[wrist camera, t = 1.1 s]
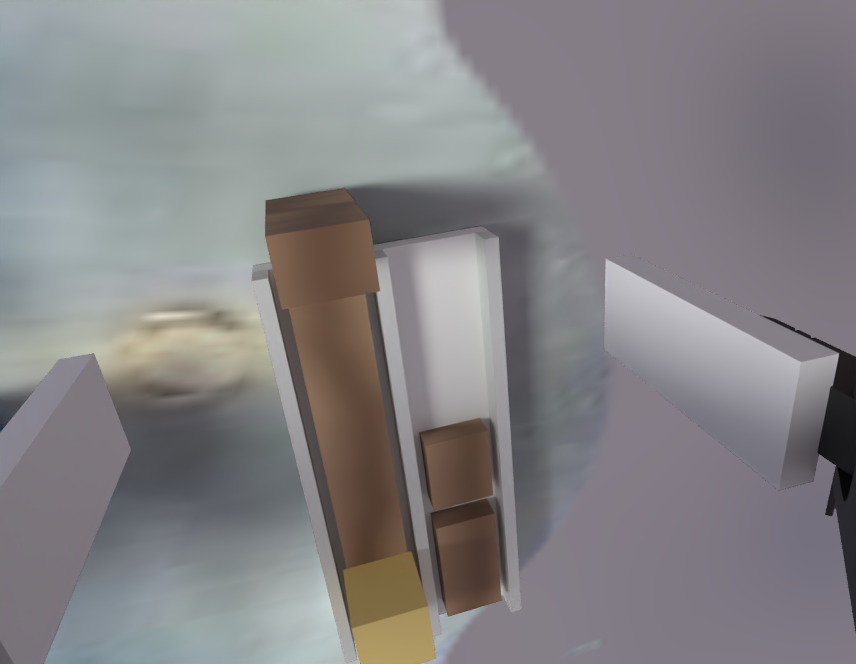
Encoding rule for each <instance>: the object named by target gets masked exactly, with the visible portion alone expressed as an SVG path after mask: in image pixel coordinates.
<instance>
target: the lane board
mask: <svg viewBox="0 0 856 664" xmlns="http://www.w3.org/2000/svg"><path fill="white" fill-rule="evenodd" d="M373 247H374V253H375V260H376V267H377V273H378V280H379V286H380V291H379V292H374V293H368V294H365V295H366V302H367V308H368V314H369V320H370V326H371V332H372V338H373V344H374V350H375V357H376V363H377V369H378V375H379V381H380V387H381V393H382V399H383V405H384V412H385V418H386V424H387V430H388V436H389V442H390V448H391V454H392V460H393V467H394V473H395V479H396V485H397V491H398V497H399V503H400V509H401V516H402V522H403V528H404V534H405V540H406V546H407V552H410V551H411V552H412V555H413V558H414V562H415V565H416V568H417V571H418V575H419V578H420V581H421V584H422V587H423V591H424V594H425V597H426V600H427V603H428V607H429V614H430V620H431V627H432V634H433V636H437V635H440V634H441V627H440V620H439V615H440V614H444V613H447V611H446V609H445V606H444V603H443V600H442V594H441V587H440V579H439V572H438V565H437V558H436V550H435V543H434V536H433V529H432V521H431V514H430V513H432V512H436V511H440V510H443V509H447V508H451V507H455V506H459V505H462V504H466V503H470V502H474V501H478V500H481V499H485V498H487V500H488V502H489V504H490V505H491V507H492V509H493V511H494V513H495V523H496V536H497V548H498V561H499V573H500V586H501V596H504V598H505V600H506V603H507V605H508V607H509V609H510V611H511V612H515V611H518V610H521V594H520V578H519V561H518V545H517V528H516V512H515V496H514V479H513V463H512V447H511V430H510V414H509V398H508V382H507V365H506V349H505V333H504V316H503V300H502V284H501V267H500V251H499V237H498V236H496V235H495V234H493V233H492V232H490V231H488V230H487V229H485V228H484V227H482V226H479V227H473V228H468V229H462V230H456V231H450V232H445V233H439V234H433V235H427V236H422V237H416V238H410V239H404V240H399V241H393V242H387V243H381V244H376V245H373ZM252 284H253V289H254V293H255V297H256V301H257V305H258V309H259V313H260V317H261V321H262V325H263V329H264V333H265V337H266V341H267V345H268V350H269V354H270V358H271V362H272V366H273V370H274V374H275V378H276V382H277V386H278V390H279V394H280V398H281V402H282V406H283V410H284V415H285V419H286V423H287V427H288V431H289V435H290V439H291V443H292V447H293V451H294V455H295V459H296V463H297V467H298V471H299V475H300V480H301V484H302V488H303V492H304V496H305V500H306V504H307V508H308V512H309V516H310V520H311V524H312V528H313V532H314V536H315V541H316V545H317V549H318V553H319V557H320V561H321V565H322V569H323V573H324V577H325V581H326V585H327V589H328V593H329V597H330V601H331V606H332V610H333V614H334V618H335V622H336V626H337V630H338V634H339V638H340V642H341V646H342V650H343V654H344V658H345V662H346V663H348V662H352V661H355V660H357V656H356V650H355V643H354V640H355V639H354V635H353V631H352V625H351V619H350V613H349V606H348V600H347V594H346V587H345V581H344V575H343V570H345V569H347V568H346V564H345V559H344V555H343V550H342V546H341V541H340V537H339V532H338V528H337V523H336V519H335V514H334V510H333V505H332V501H331V497H330V492H329V488H328V483H327V479H326V474H325V470H324V465H323V461H322V456H321V452H320V447H319V443H318V438H317V434H316V429H315V425H314V420H313V416H312V411H311V407H310V402H309V398H308V394H307V389H306V385H305V380H304V376H303V371H302V367H301V362H300V358H299V353H298V349H297V344H296V340H295V335H294V331H293V326H292V322H291V317H290V313H289V309H284V310H282V308H281V303H280V299H279V295H278V290H277V286H276V281H275V277H274V273H273V268H272V264H271V263H266V264H260V265H255V266H253V271H252ZM476 418H480V419H481V421H482V422H483V424H484V425H485V427H486V428H487V430H488V436H489V448H490V461H491V473H492V486H493V495H492V496H489V497H485V498H481V499H477V500H473V501H470V502H466V503H462V504H458V505H455V506H451V507H447V508H443V509H439V510H436V511H434V509H433V507H432V504H431V502H430V499H429V497H428V492H427V485H426V478H425V470H424V463H423V456H422V448H421V441H420V434H419V432H422V431H426V430H430V429H434V428H438V427H443V426H447V425H451V424H455V423H460V422H464V421H468V420H472V419H476Z"/></svg>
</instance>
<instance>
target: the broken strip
mask: <svg viewBox="0 0 856 664" xmlns="http://www.w3.org/2000/svg"><path fill="white" fill-rule="evenodd" d="M419 434H420V441H421V448H422V456H423V463H424V470H425V478H426V485H427V492H428V497H429V499H430V502H431V504H432V507H433V509H434V511H436V510H439V509H443V508H447V507H451V506H455V505H458V504H462V503H466V502H470V501H473V500H477V499H481V498H485V497H489V496H492V495H493V486H492V473H491V461H490V448H489V436H488V430H487V428H486V427H485V425H484V424H483V422H482V421H481V419H480V418H476V419H472V420H468V421H464V422H460V423H455V424H451V425H447V426H443V427H438V428H434V429H430V430H426V431H422V432H419ZM430 514H431V521H432V529H433V536H434V543H435V550H436V558H437V565H438V572H439V579H440V587H441V594H442V600H443V603H444V606H445V609H446V611H447V614H448V616H452V615H455V614H458V613H462V612H465V611H468V610H472V609H475V608H478V607H482V606H485V605H488V604H492V603H495V602H498V601H501V600H502V599H501V586H500V573H499V561H498V548H497V536H496V523H495V513H494V511H493V509H492V507H491V505H490V504H489V502H488V500H487V498H485V499H481V500H478V501H474V502H470V503H466V504H462V505H459V506H455V507H451V508H447V509H443V510H440V511H436V512H432V513H430Z"/></svg>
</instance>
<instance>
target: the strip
mask: <svg viewBox="0 0 856 664" xmlns="http://www.w3.org/2000/svg"><path fill="white" fill-rule="evenodd" d="M265 238H266V242H267V246H268V251H269V255H270V260H271V264H272V268H273V273H274V277H275V281H276V286H277V290H278V295H279V299H280V303H281V308H282V310H284V309H289V313H290V317H291V322H292V326H293V331H294V335H295V340H296V344H297V349H298V353H299V358H300V362H301V367H302V371H303V376H304V380H305V385H306V389H307V394H308V398H309V402H310V407H311V411H312V416H313V420H314V425H315V429H316V434H317V438H318V443H319V447H320V452H321V456H322V461H323V465H324V470H325V474H326V479H327V483H328V488H329V492H330V497H331V501H332V505H333V510H334V514H335V519H336V523H337V528H338V532H339V537H340V541H341V546H342V550H343V555H344V559H345V564H346V568H347V569H348V568H352V567H356V566H359V565H363V564H366V563H370V562H374V561H377V560H381V559H385V558H388V557H392V556H395V555H399V554H403V553H406V552H407V546H406V540H405V534H404V528H403V522H402V516H401V509H400V503H399V497H398V491H397V485H396V479H395V473H394V467H393V460H392V454H391V448H390V442H389V436H388V430H387V424H386V418H385V412H384V405H383V399H382V393H381V387H380V381H379V375H378V369H377V363H376V357H375V350H374V344H373V338H372V332H371V326H370V320H369V314H368V308H367V302H366V295H365V294H368V293H374V292H379V291H380V286H379V280H378V273H377V267H376V260H375V253H374V247H373V240H372V234H371V227H370V221H369V218H368V217H367V216H366V214H365V213H364V212H363V211H362V209H361V208H360V207H359V206H358V204H357V203H356V202H355V200H354V199H353V198H352V197H351V195H350V194H349V193H348V192H347V190H346V189H345V188H343V189H337V190H330V191H324V192H317V193H311V194H304V195H298V196H291V197H285V198H278V199H272V200H266V217H265Z"/></svg>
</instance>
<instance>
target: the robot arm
mask: <svg viewBox="0 0 856 664" xmlns="http://www.w3.org/2000/svg"><path fill="white" fill-rule="evenodd" d="M604 349H605V350H606V351H607V352H608V353H610V354H611V355H612V356H613V357H615V358H616V359H617V360H618V361H619V362H621V363H622V364H623V365H624V366H626V367H627V368H628V369H629V370H631V371H632V372H633V373H634V374H635V375H637V376H638V377H639V378H640V379H642V380H643V381H644V382H645V383H647V384H648V385H649V386H650V387H652V388H653V389H654V390H655V391H656V392H658V393H659V394H660V395H661V396H663V397H664V398H665V399H666V400H668V401H669V402H670V403H671V404H672V405H674V406H675V407H676V408H678V409H679V410H680V411H681V412H682V413H684V414H685V415H686V416H687V417H688V418H690V419H691V420H692V421H693V422H695V423H696V424H697V425H698V426H700V427H701V428H702V429H703V430H705V431H706V432H707V433H709V435H711V436H712V437H713V438H714V439H716V440H717V441H718V442H719V443H720V444H722V445H723V446H724V447H725V448H727V449H728V450H729V451H730V452H732V453H733V454H734V455H735V456H736V457H738V458H739V459H740V460H742V461H743V462H744V463H745V464H746V465H748V466H749V467H750V468H751V469H752V470H754V471H755V472H756V473H758V474H759V475H760V476H761V477H762V478H764V479H765V480H766V481H767V482H768V483H770V484H771V485H772V486H773V487H775V488H776V489H777V490H778V491H780V490H783V489H786V488H791V487H794V486H798V485H802V484H805V483H809V482H813V480H814V475H815V471H816V465H817V460H818V456H819V454H820V455H822V456H823V457H824V458H826V459H827V460H829V461H830V462H832V463H833V464H835V465H836V468H835V473H834V477H833V482H832V486H831V491H830V495H829V500H828V505H827V509H826V513H825V515H829V516H832V515H833V512H834V509H835V508H836V510H837V516H838V523H839V529H840V536H841V542H842V549H843V555H844V561H845V568H846V574H847V580H848V587H849V593H850V599H851V605H852V612H853V618H854V625H855V631H856V357H855V356H853V355H850V354H848V353H846V352H844V351H842V350H840V349H838V348H836V347H833V346H831V345H829V344H827V343H825V342H823V341H821V340H819V339H817V338H811V336H810V335H808V334H806V333H804V332H802V331H800V330H797V331H795V328H793V327H791V326H789V325H787V324H785V323H783V322H781V321H778V320H776V319H773V318H769V317H766V316H761V315H758V314H756V313H754V312H752V311H750V310H748V309H745V308H743V307H741V306H739V305H737V304H735V303H733V302H731V301H729V300H727V299H725V298H722V297H720V296H718V295H716V294H714V293H712V292H710V291H708V290H706V289H704V288H701V287H699V286H697V285H695V284H693V283H691V282H689V281H687V280H685V279H683V278H681V277H678V276H676V275H674V274H672V273H670V272H668V271H666V270H664V269H662V268H660V267H657V266H656V265H653V264H651V263H649V262H647V261H645V260H643V259H641V258H639V257H637V256H635V255H633V254H628V255H623V256H617V257H612V258H607V259H606V274H605V330H604ZM130 451H131V448H130V446H129V443H128V440H127V438H126V435H125V433H124V430H123V427H122V425H121V422H120V420H119V417H118V414H117V412H116V409H115V407H114V404H113V401H112V399H111V396H110V394H109V391H108V388H107V386H106V383H105V381H104V378H103V375H102V373H101V370H100V368H99V365H98V362H97V360H96V357H95V355H94V353H92V354H87V355H81V356H76V357H71V358H65V359H60V360H58V362H57V363H56V364H55V365H54V366H53V368H52V369H51V370H50V371H49V373H48V374H47V375H46V376H45V378H44V379H43V380H42V381H41V383H40V384H39V385H38V386H37V388H36V389H35V390H34V391H33V393H32V394H31V395H30V396H29V398H28V399H27V400H26V401H25V402H24V404H23V405H22V406H21V407H20V409H19V410H18V411H17V412H16V414H15V415H14V416H13V417H12V419H11V420H10V421H9V422H8V424H7V425H6V426H5V427H4V429H3V430H2V431H1V432H0V664H44V662H45V659H46V657H47V654H48V652H49V649H50V647H51V644H52V642H53V640H54V637H55V635H56V632H57V630H58V627H59V625H60V622H61V620H62V617H63V615H64V613H65V610H66V608H67V605H68V603H69V600H70V598H71V595H72V593H73V591H74V588H75V586H76V583H77V581H78V578H79V576H80V573H81V571H82V569H83V566H84V564H85V561H86V559H87V556H88V554H89V551H90V549H91V547H92V544H93V542H94V539H95V537H96V534H97V532H98V529H99V527H100V524H101V522H102V520H103V517H104V515H105V512H106V510H107V507H108V505H109V502H110V500H111V498H112V495H113V493H114V490H115V488H116V485H117V483H118V480H119V478H120V476H121V473H122V471H123V468H124V466H125V463H126V461H127V458H128V456H129V454H130Z"/></svg>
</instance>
